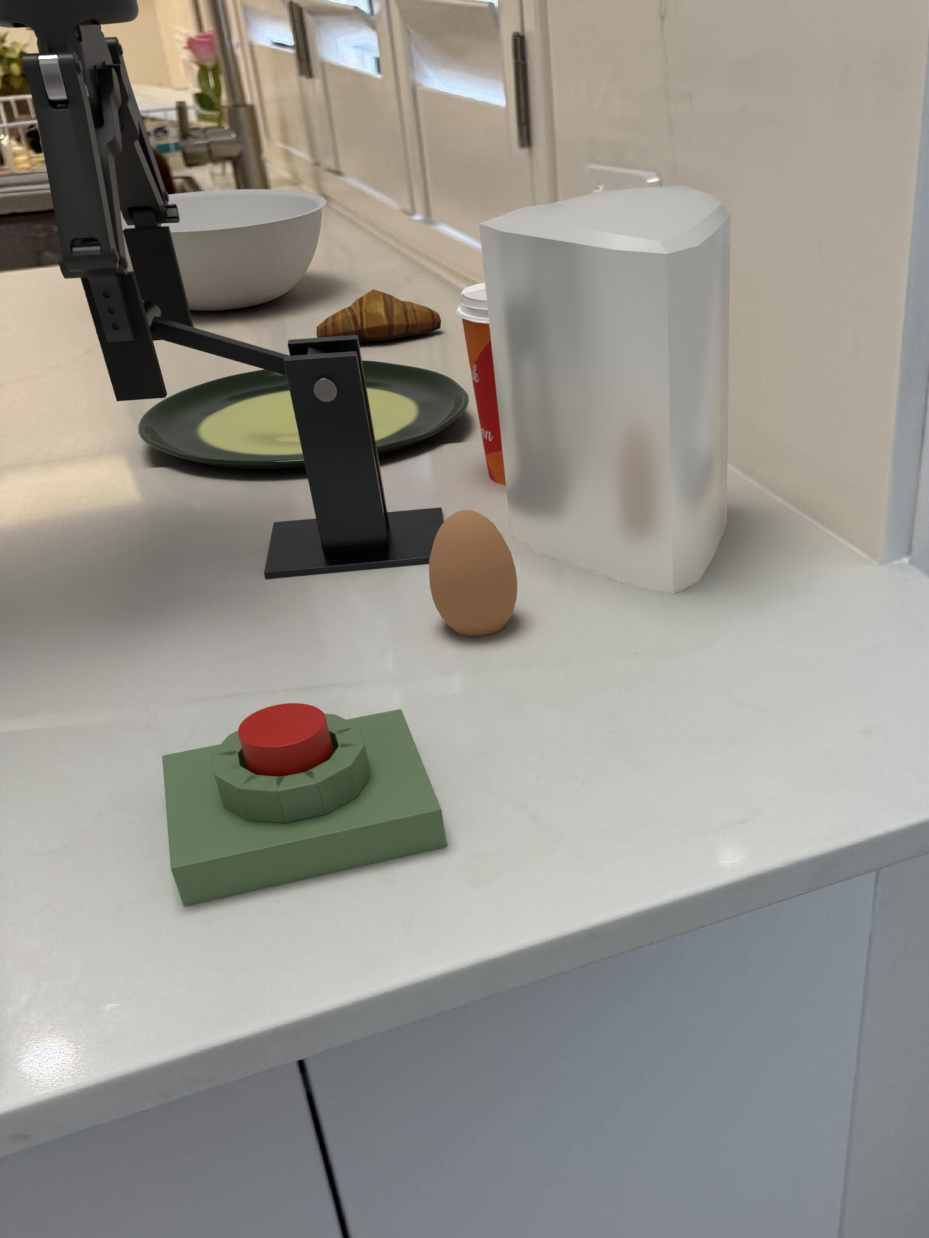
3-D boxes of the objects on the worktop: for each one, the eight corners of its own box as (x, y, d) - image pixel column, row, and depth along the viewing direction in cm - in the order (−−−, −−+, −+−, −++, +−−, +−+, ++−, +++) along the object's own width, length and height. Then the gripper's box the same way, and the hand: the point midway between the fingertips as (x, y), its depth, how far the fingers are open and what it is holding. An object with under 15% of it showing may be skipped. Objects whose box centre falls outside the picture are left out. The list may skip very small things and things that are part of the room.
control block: (183, 907, 54) (158, 835, 51) (173, 791, 61) (151, 723, 59) (447, 847, 57) (435, 776, 54) (407, 744, 64) (395, 677, 62)
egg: (503, 611, 77) (489, 488, 72) (536, 643, 73) (523, 516, 68) (426, 630, 75) (406, 505, 70) (456, 664, 71) (437, 535, 66)
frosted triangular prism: (503, 550, 84) (464, 193, 71) (640, 492, 93) (629, 162, 79) (664, 610, 76) (655, 220, 63) (798, 541, 85) (816, 182, 71)
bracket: (268, 591, 80) (215, 373, 72) (277, 539, 87) (230, 335, 79) (449, 573, 82) (419, 359, 73) (444, 523, 89) (416, 322, 80)
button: (250, 787, 55) (241, 754, 54) (242, 744, 58) (233, 712, 57) (338, 768, 56) (331, 736, 55) (326, 727, 59) (319, 696, 58)
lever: (119, 349, 72) (123, 308, 70) (133, 329, 76) (136, 289, 74) (344, 413, 76) (352, 375, 75) (346, 390, 80) (353, 354, 79)
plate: (213, 387, 117) (206, 360, 116) (496, 385, 116) (493, 358, 114) (89, 491, 96) (79, 460, 94) (436, 491, 94) (432, 459, 92)
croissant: (435, 324, 135) (428, 275, 132) (449, 339, 130) (443, 288, 127) (313, 339, 131) (303, 289, 128) (323, 354, 126) (314, 302, 123)
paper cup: (510, 461, 99) (491, 274, 90) (592, 473, 96) (581, 282, 87) (457, 493, 93) (431, 297, 85) (542, 507, 91) (525, 306, 82)
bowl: (95, 340, 133) (65, 239, 127) (122, 286, 154) (97, 197, 148) (346, 320, 137) (329, 221, 131) (339, 270, 158) (324, 183, 152)
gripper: (69, -75, 52) (197, 422, 66) (154, -70, 72) (240, 313, 85) (-114, -70, 52) (53, 433, 65) (22, -67, 71) (129, 320, 84)
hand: (159, 366), depth 75 cm, fingers open, 13 cm apart
